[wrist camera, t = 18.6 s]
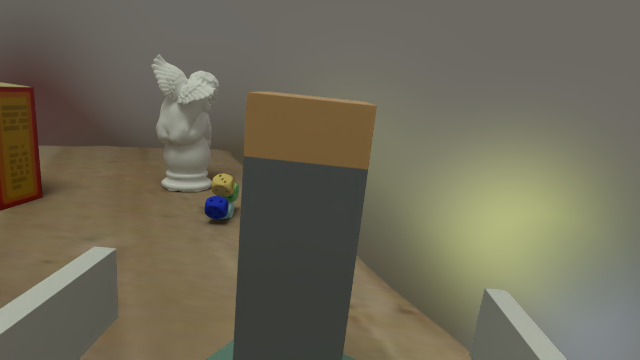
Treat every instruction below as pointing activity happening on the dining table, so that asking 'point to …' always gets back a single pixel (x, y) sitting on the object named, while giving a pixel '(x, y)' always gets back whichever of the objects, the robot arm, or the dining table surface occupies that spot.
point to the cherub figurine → (185, 125)
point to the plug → (299, 224)
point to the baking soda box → (18, 147)
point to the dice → (222, 197)
